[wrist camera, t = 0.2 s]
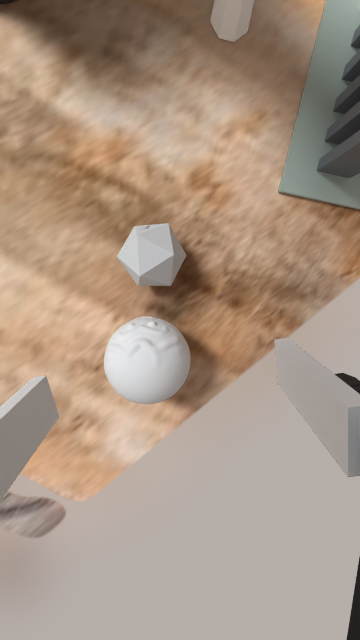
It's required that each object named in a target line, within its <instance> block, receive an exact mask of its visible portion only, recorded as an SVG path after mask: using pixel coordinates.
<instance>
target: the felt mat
mask: <svg viewBox="0 0 360 640" xmlns="http://www.w3.org/2000/svg"><path fill="white" fill-rule="evenodd" d="M359 25H360V0H326V2H325V6H324V10H323V14H322V18H321V22H320V26H319V30H318V34H317V38H316V42H315V46H314V50H313V54H312V58H311V62H310V66H309V70H308V74H307V78H306V82H305V86H304V90H303V94H302V98H301V102H300V106H299V110H298V114H297V118H296V122H295V126H294V130H293V134H292V138H291V142H290V146H289V150H288V154H287V158H286V162H285V166H284V170H283V174H282V178H281V182H280V186H279V190H278V192H280V193H285V194H289V195H294V196H298V197H303V198H307V199H312V200H317V201H321V202H326V203H330V204H335V205H339V206H344V207H348V208H353V209H358V210H360V173H359V174H357V175H355V176H353V177H351V178H346V177H342V176H337V175H333V174H329V173H324V172H320V171H317V167H318V163H319V160H320V158H321V157H323V156H324V155H325V154H327V153H328V152H330V151H331V150H332V149H334V148H335V147H337V146H338V144H334V143H330V142H325V137H326V134H327V130H328V128H329V127H330V126H331V125H333V124H334V123H335V122H336V121H337V120H338V119H339V118H341V117H342V116H343V115H344V114H341V113H337V112H333V109H334V105H335V101H336V98H337V97H338V96H339V95H340V94H341V93H342V92H343V91H344V90H345V89H346V88H347V87H348V86H349V85H350V84H351V83H352V82H350V81H346V80H342V75H343V72H344V68H345V65H346V64H347V63H348V62H349V61H350V59H351V58H352V57H353V56H354V55H355V54H356V53H357V51H358V50H359V49H360V48H356V47H352V46H351V42H352V38H353V35H354V31H355V30H356V29H357V28H358V26H359Z"/></svg>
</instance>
